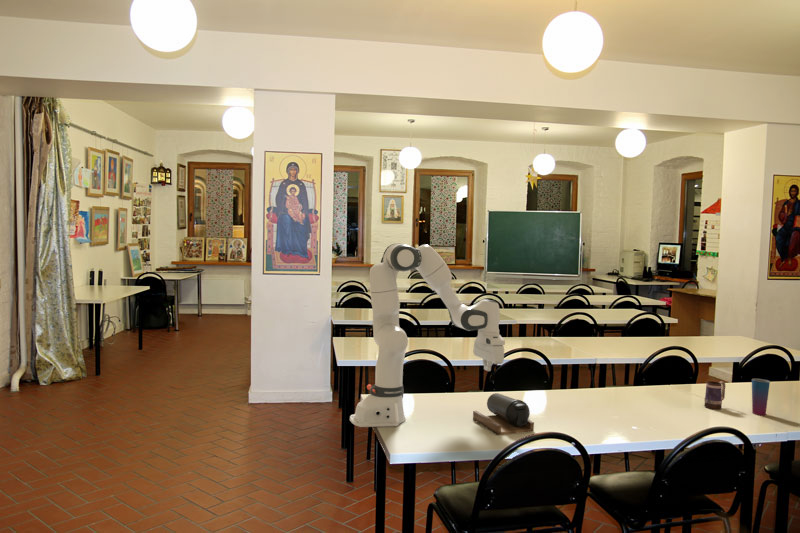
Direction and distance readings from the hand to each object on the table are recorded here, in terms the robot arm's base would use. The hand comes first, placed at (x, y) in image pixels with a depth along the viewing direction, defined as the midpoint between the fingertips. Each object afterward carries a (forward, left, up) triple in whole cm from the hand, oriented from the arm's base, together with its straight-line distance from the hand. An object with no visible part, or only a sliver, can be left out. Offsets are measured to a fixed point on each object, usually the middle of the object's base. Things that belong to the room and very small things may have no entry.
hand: (487, 370), depth 241 cm
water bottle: (+4, -1, -14) cm, 15 cm away
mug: (+110, -17, -19) cm, 113 cm away
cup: (+121, -30, -19) cm, 126 cm away
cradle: (0, -14, -19) cm, 24 cm away
